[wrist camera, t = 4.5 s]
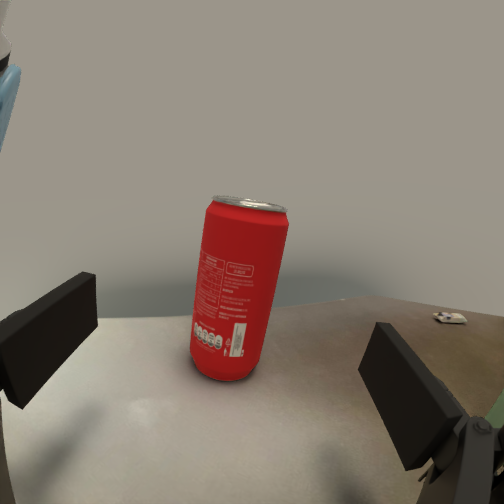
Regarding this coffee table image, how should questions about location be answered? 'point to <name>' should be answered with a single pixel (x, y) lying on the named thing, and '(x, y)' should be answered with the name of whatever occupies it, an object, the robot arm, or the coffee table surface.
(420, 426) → the robot arm
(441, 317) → the granola bar
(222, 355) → the beverage can
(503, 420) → the open square storage bin
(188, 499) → the coffee table surface
